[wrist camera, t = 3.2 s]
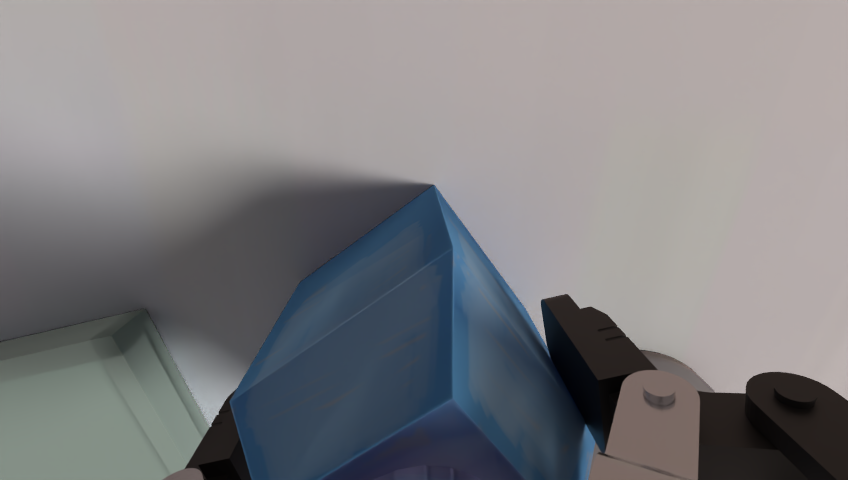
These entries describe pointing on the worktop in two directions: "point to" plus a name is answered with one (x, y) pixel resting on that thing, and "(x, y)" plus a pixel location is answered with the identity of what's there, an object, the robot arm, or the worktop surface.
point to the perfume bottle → (409, 369)
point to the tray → (95, 404)
